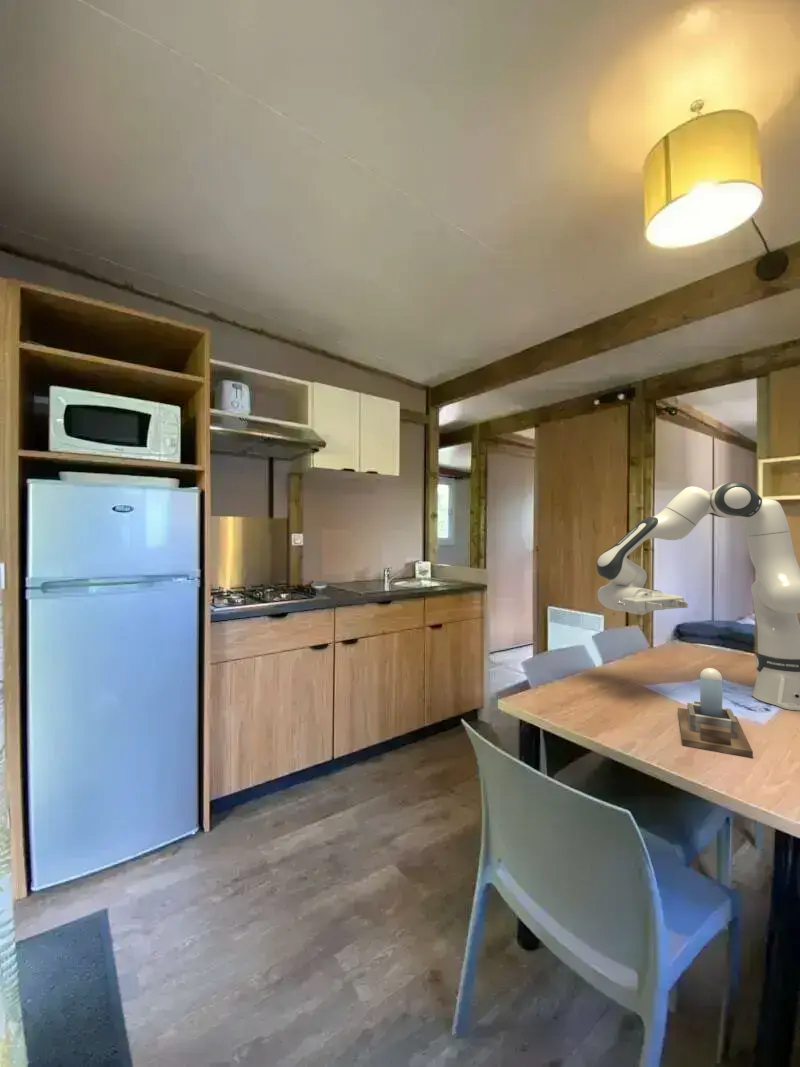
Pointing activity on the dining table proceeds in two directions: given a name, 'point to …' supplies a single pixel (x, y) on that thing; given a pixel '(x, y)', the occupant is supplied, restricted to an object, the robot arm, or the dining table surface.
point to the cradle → (713, 731)
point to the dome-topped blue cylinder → (711, 693)
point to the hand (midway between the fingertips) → (674, 606)
